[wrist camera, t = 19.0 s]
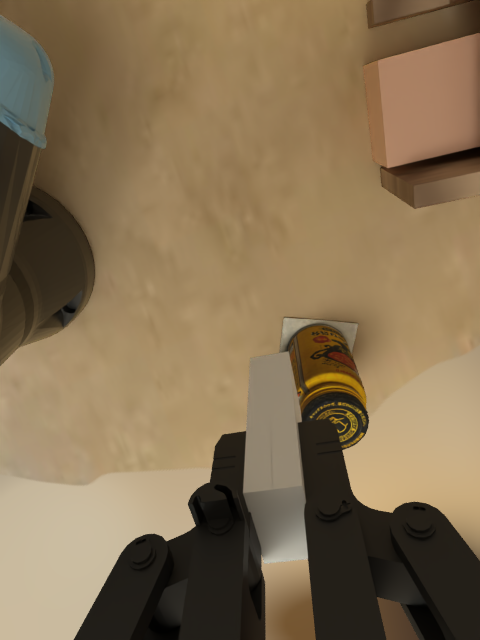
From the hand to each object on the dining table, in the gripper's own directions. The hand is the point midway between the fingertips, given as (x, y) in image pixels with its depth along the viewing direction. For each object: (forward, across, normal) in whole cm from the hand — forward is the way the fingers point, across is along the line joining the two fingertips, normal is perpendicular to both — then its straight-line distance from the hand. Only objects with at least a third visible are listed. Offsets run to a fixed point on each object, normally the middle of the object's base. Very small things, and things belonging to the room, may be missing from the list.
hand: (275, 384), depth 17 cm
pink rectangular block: (+25, +16, +7) cm, 30 cm away
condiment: (+25, +2, -14) cm, 28 cm away
